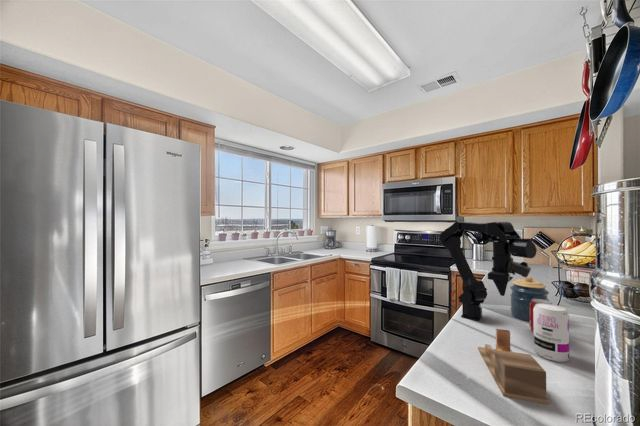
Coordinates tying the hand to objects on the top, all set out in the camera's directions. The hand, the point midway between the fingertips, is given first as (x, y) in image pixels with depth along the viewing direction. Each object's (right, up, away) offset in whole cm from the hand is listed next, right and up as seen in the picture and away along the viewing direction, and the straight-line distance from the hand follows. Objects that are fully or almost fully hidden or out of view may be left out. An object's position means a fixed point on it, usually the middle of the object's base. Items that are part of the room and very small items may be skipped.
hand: (502, 295), depth 98 cm
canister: (+20, -14, +12) cm, 27 cm away
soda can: (+12, -13, -3) cm, 18 cm away
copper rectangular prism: (-19, -11, -30) cm, 37 cm away
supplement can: (+2, -13, -19) cm, 23 cm away
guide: (-18, -13, -27) cm, 35 cm away
